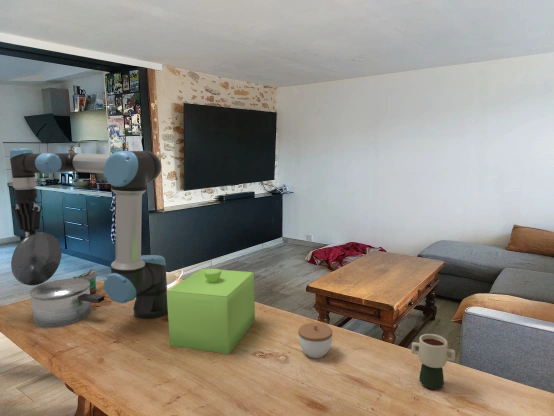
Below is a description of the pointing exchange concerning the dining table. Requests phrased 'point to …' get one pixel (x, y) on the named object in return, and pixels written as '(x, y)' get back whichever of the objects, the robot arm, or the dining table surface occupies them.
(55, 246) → the cooker lid
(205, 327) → the canister
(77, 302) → the cooker pot
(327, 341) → the lidded jar
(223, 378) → the dining table surface
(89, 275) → the food container
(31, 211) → the robot arm
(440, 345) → the character mug
